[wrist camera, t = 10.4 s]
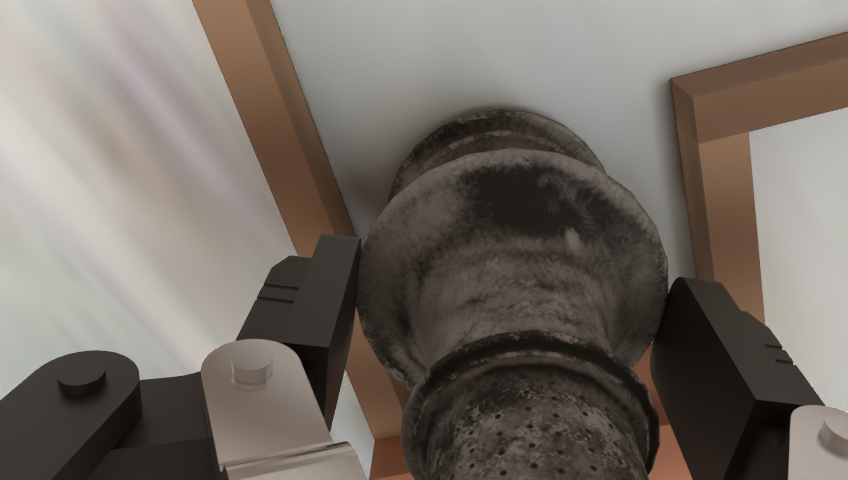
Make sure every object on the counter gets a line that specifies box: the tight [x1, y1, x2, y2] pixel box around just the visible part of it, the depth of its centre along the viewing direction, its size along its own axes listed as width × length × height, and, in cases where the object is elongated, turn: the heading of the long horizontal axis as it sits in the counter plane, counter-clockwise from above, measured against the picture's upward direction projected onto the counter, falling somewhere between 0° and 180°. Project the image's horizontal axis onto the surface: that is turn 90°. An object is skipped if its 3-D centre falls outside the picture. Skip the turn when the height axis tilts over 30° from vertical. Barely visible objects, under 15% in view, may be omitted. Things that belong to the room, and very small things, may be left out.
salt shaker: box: [356, 110, 668, 480], centre depth 11 cm, size 6×6×12 cm
